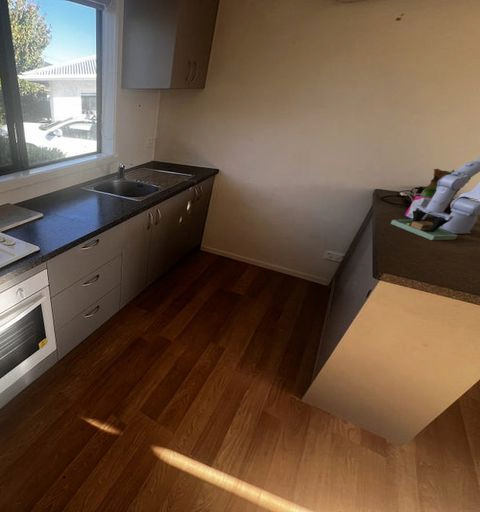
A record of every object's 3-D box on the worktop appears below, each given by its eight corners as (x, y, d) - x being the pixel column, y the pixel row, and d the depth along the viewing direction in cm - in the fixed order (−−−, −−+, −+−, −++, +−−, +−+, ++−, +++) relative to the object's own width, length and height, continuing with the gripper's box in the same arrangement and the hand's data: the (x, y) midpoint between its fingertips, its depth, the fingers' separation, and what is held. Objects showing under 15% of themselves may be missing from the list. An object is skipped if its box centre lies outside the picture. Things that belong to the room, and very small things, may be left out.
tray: (411, 223, 149) (413, 219, 148) (455, 239, 132) (458, 235, 131) (390, 223, 148) (392, 219, 147) (431, 240, 131) (434, 236, 130)
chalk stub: (413, 225, 144) (411, 224, 145) (415, 223, 144) (412, 222, 145) (408, 226, 144) (405, 224, 145) (409, 223, 144) (407, 222, 145)
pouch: (446, 219, 155) (477, 172, 143) (428, 219, 154) (457, 172, 141) (423, 211, 165) (450, 167, 152) (405, 212, 163) (431, 167, 151)
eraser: (423, 227, 142) (427, 221, 141) (433, 231, 139) (437, 224, 137) (408, 228, 142) (412, 221, 140) (418, 231, 138) (422, 225, 136)
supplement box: (424, 220, 152) (437, 199, 147) (411, 219, 153) (423, 198, 148) (416, 216, 157) (428, 196, 152) (403, 215, 158) (415, 195, 153)
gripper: (415, 196, 139) (400, 222, 145) (450, 207, 126) (431, 235, 133) (428, 196, 139) (412, 222, 146) (464, 206, 127) (445, 234, 134)
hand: (422, 228), depth 140 cm, fingers open, 7 cm apart
